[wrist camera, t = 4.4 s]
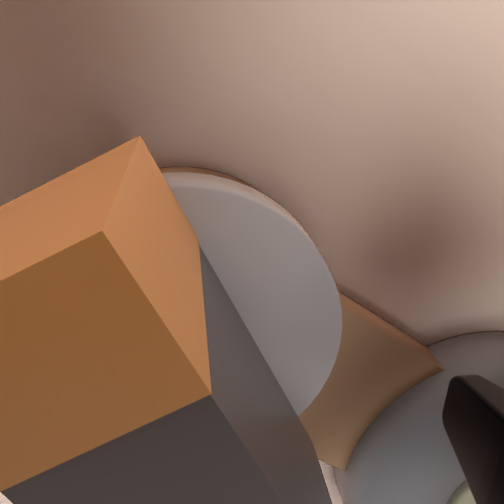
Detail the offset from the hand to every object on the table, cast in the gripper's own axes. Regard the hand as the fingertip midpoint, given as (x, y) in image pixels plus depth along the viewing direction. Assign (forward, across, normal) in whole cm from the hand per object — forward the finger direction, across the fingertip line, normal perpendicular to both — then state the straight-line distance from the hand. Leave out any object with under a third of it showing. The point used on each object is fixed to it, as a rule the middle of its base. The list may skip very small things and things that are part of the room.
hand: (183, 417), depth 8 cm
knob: (+3, 0, 0) cm, 3 cm away
